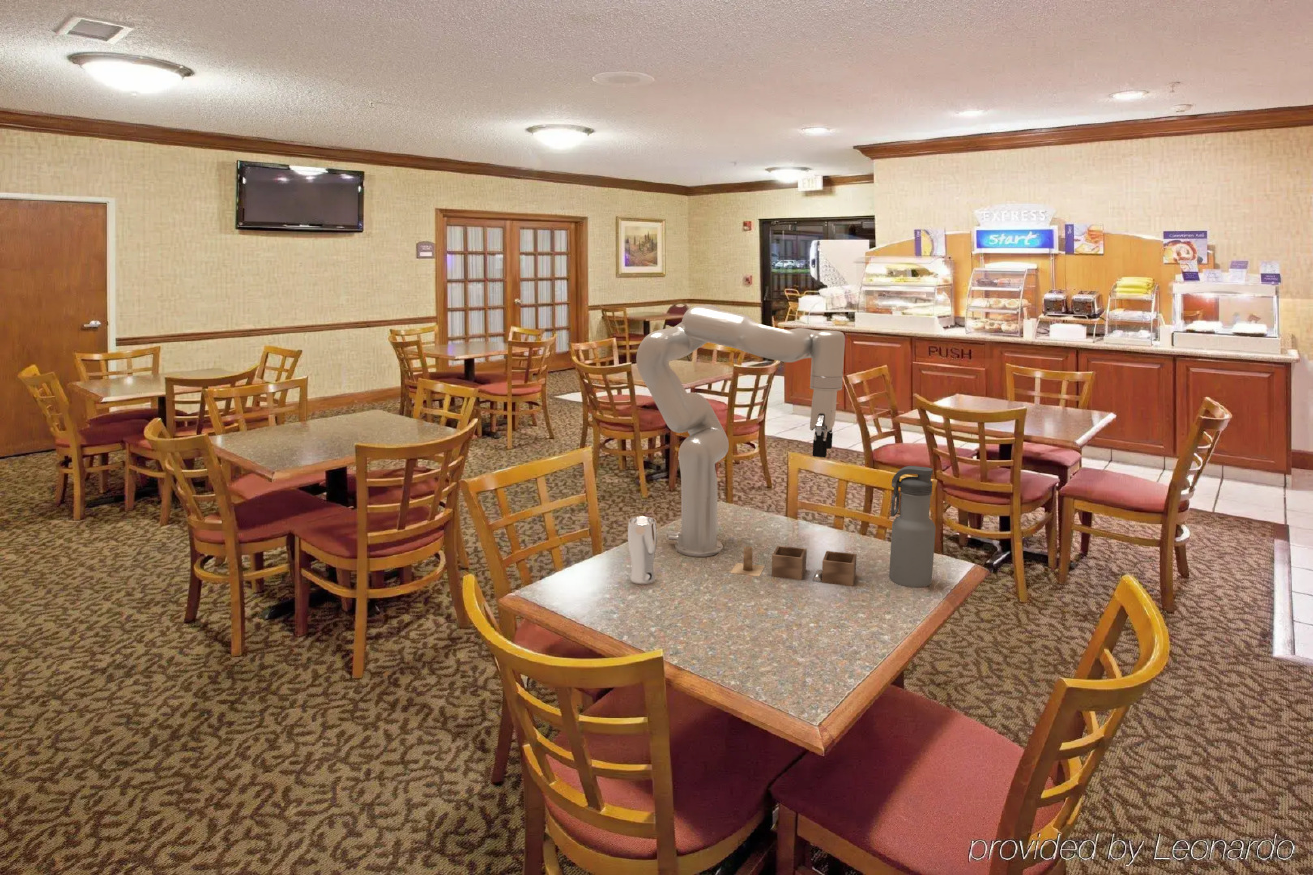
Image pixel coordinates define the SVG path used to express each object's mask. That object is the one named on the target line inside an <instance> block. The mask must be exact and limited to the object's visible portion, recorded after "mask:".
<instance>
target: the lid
mask: <svg viewBox="0 0 1313 875" xmlns="http://www.w3.org/2000/svg"><path fill="white" fill-rule="evenodd" d="M753 549H754V548H753V547H752V546H750V545H748V546H743V563H742V562H736V563H735V565H734V566H733V568H732V570H730V574H733V575H734V574H735V575H743V576H751V577H761V574H762V572H763V570H764V569H765V565H761V564H753Z"/></svg>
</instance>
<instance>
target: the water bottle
mask: <svg viewBox="0 0 1313 875" xmlns="http://www.w3.org/2000/svg"><path fill="white" fill-rule="evenodd" d="M933 472H934V469H933V468H931V467H927V466H926V467H925V466H917V465H914V466H913V465H907V466H904V467H902V468H900V469H899V470H898V471H897V472H896V473H895V474H894V476H893V477H892V479H891V487H892V488H893V494H892V496H891V506H890V507H891V508H890V516H891V517H895V518H894V519H893V521H892V524H891V537H890V540H891V542H890V554H889V555H890V558H889V574H888V576H889V579H890V581H891V582H893V583H894V584H896V585H899V586H901V587H902V586H903V587H907V588H924V587H929V586H930V585H932V581H933V573H934V572H933V571H934V570H933V568H934V555H935V541H936V525H935V522H934V521H933V520H932V519H930V509H931V508H930V507H931V496H932V495H933V493H932V492H933V481H932V476H933ZM905 475H914V476H906V477H903V478H901V477H902V476H905ZM915 475H917V476H915ZM900 479H901V480H900ZM899 488H900V490H899ZM898 512H899V515H898V516H897V517H896V515H897V514H898Z"/></svg>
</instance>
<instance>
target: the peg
mask: <svg viewBox="0 0 1313 875" xmlns="http://www.w3.org/2000/svg"><path fill="white" fill-rule="evenodd" d="M812 582H815V583H816V582H817V583H822V569H817V570H816V571H815V572H814V575H813V579H812Z"/></svg>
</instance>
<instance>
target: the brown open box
mask: <svg viewBox="0 0 1313 875" xmlns="http://www.w3.org/2000/svg"><path fill="white" fill-rule="evenodd" d="M807 551H808V548H803V547H794V546H784V545H777V546H776V548H775V550H774V551H773V553H772V555H771V577H772V578H774V577H775V578H779V579H780V578H781V579H789V580H797V581H802V580H803V578H804V575H805V573H806V571H807V553H808V552H807Z"/></svg>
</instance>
